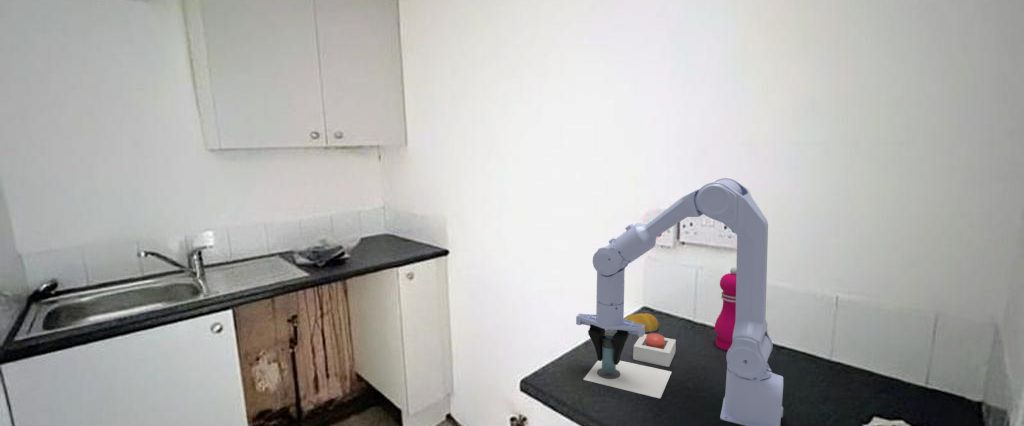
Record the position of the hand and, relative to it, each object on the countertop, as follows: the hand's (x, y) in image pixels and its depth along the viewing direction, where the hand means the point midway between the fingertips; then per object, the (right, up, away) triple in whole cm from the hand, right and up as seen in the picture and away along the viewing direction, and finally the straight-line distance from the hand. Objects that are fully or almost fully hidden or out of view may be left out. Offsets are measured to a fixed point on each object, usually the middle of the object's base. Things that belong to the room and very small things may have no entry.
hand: (608, 360), depth 103 cm
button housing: (+12, -2, +8) cm, 15 cm away
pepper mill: (+32, -1, +13) cm, 35 cm away
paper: (+4, -3, -1) cm, 5 cm away
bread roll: (+14, +1, +26) cm, 29 cm away
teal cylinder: (0, -2, 0) cm, 2 cm away
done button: (+12, +1, +8) cm, 15 cm away
